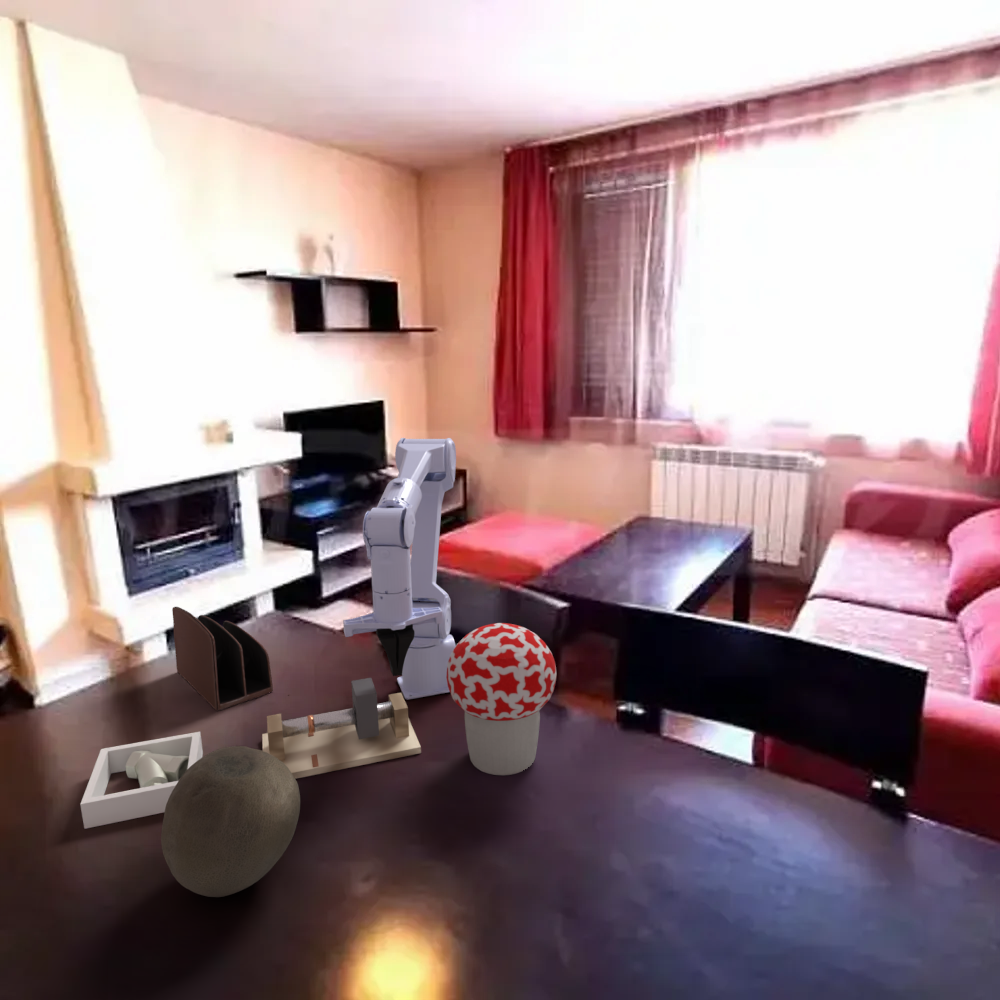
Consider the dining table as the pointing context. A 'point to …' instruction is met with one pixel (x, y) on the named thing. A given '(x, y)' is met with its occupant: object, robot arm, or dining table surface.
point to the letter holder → (220, 660)
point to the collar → (365, 708)
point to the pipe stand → (342, 744)
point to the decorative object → (501, 694)
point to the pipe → (329, 720)
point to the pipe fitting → (155, 768)
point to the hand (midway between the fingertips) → (396, 672)
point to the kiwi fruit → (229, 820)
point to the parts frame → (134, 801)
